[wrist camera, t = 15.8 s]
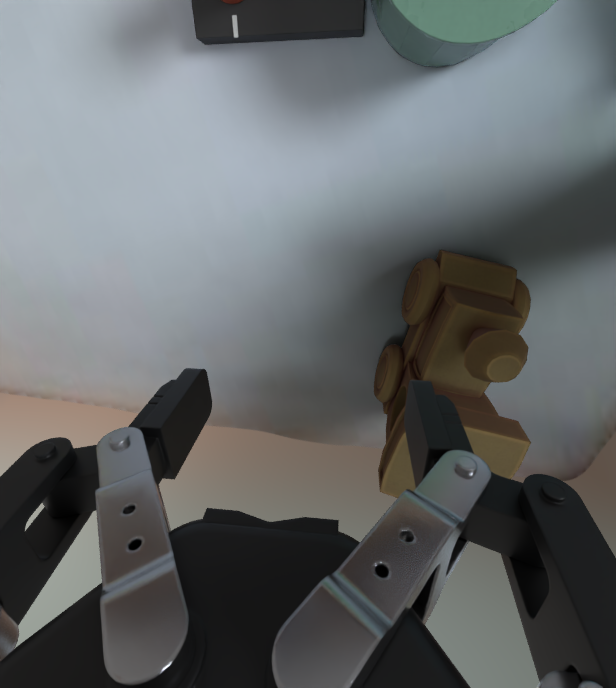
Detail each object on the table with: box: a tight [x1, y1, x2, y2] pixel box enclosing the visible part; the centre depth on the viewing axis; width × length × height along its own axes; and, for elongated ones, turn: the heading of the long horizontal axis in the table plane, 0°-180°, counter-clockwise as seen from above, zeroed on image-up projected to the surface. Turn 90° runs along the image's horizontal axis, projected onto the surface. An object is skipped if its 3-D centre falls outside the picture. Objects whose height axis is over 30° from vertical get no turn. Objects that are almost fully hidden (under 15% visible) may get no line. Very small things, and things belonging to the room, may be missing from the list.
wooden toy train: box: [374, 250, 531, 498], centre depth 35 cm, size 20×11×17 cm, turn 168°
